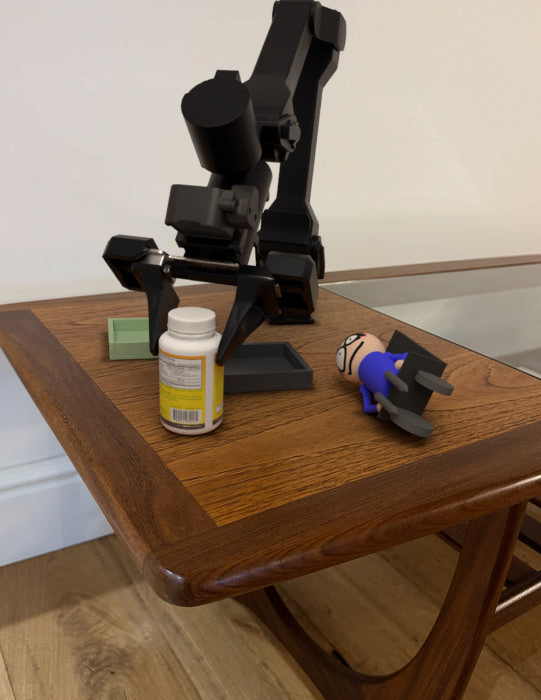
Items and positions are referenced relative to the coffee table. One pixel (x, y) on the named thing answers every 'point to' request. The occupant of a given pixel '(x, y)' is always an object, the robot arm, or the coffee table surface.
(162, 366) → the supplement bottle
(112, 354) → the sage tray
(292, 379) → the charcoal tray
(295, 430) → the coffee table surface
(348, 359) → the character figurine
